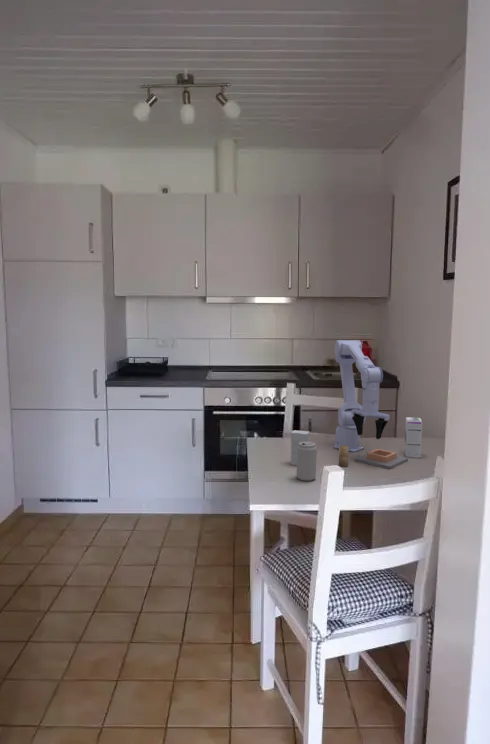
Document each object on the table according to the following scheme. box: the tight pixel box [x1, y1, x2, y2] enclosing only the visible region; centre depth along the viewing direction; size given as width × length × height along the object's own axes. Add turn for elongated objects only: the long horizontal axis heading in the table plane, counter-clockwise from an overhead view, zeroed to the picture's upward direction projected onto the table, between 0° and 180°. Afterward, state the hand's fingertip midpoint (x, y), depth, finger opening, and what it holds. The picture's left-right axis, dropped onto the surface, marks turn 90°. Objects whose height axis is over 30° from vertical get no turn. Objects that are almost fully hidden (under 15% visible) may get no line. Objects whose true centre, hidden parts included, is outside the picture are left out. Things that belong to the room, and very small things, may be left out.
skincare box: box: [290, 429, 311, 466], centre depth 185 cm, size 6×4×12 cm
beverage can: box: [296, 441, 318, 482], centre depth 169 cm, size 6×6×12 cm
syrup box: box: [403, 416, 423, 459], centre depth 197 cm, size 6×6×14 cm
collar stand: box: [354, 448, 409, 470], centre depth 191 cm, size 14×14×3 cm
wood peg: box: [338, 445, 349, 468], centre depth 184 cm, size 3×3×7 cm
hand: (369, 436), depth 188 cm, fingers open, 7 cm apart
